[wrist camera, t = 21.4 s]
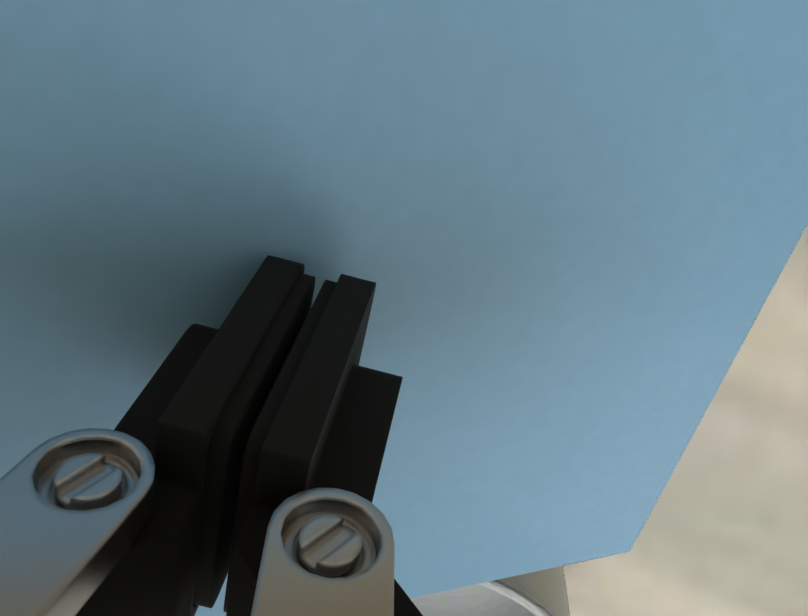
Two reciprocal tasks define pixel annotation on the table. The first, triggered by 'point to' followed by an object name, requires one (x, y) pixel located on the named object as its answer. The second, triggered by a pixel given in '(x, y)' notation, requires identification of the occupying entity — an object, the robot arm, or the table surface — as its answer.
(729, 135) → the lid
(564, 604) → the teacup
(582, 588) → the table surface
